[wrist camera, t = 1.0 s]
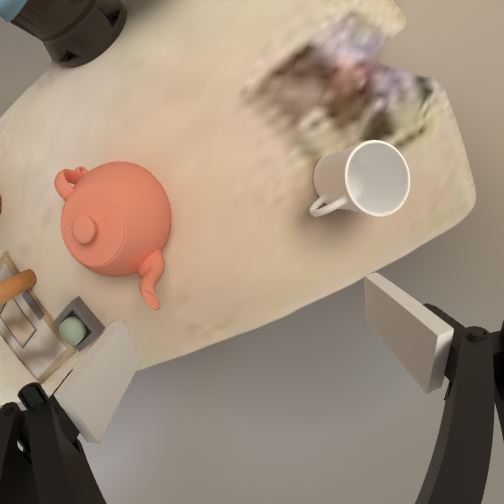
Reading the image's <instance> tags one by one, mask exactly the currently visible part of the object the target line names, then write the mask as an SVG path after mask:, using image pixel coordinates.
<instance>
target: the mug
mask: <svg viewBox="0 0 504 504" xmlns="http://www.w3.org/2000/svg"><path fill="white" fill-rule="evenodd" d="M313 181H314V187H315V190H316V192H317V194H318V196H319V197H320V198H318V199H317V200H316V201H315V202H314V203H313V204H312V205H311V207H310V209H309V211H310V214H311V215H312V216H315V217H317V216H322V215H325V214H327V213H329V212H332V211H334V210H336V209H347V210H352V211H356V212H360V213H364V214H368V215H372V216H378V217H381V216H387V215H390V214H392V213H394V212H396V211H397V210H398V209H399V208H400V207H401V206H402V205H403V203H404V202H405V200H406V198H407V196H408V193H409V189H410V173H409V169H408V166H407V163H406V161H405V159H404V158H403V156H402V155H401V153H400V152H399V151H398V150H397V149H396V148H395V147H393V146H392V145H390V144H388V143H386V142H383V141H379V140H371V141H366V142H363V143H360V144H357V145H354V146H351V147H348V148H345V149H342V150H335V151H331V152H329V153H327V154H325V155H324V156H323V157H322V158H321V159H320V160H319V161H318V163H317V165H316V167H315V170H314V175H313ZM323 202H324V203H326V204H327V206H325V207H323V208H320V209H317V208H318V207H319V206H320V205H321V204H322V203H323ZM316 209H317V210H316Z"/></svg>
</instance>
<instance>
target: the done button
mask: <svg viewBox="0 0 504 504" xmlns="http://www.w3.org/2000/svg"><path fill="white" fill-rule="evenodd" d="M59 332H60V335H61V337H62V338H63V340H64V341H65V342H66V343H68V344H70V345H77V344H78V343H79V342H80V341H81V340H82V339H83V338H84V337H85V336H86V335H87V332H88V329H87V326H86V325H85V324H84V323H83V322H82V320H81V319H80V318H79V317H78V316H77V315H75V314H73V315H70V316H69V317H68V318H67V319H65V320H64V321H63V322H62V323H61V324H60V325H59Z"/></svg>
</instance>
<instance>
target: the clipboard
mask: <svg viewBox="0 0 504 504" xmlns="http://www.w3.org/2000/svg"><path fill="white" fill-rule="evenodd" d="M18 273H20V272H19V271H18V269H17V268H16V266H15V264H14V263H13V261H12V259H11V258H10V256H9V254H8V252H7V251H6V252H4V254H3V255H2V257H1V259H0V282H2V281H4V280H6V279H8V278H10V277H12V276H14V275H16V274H18ZM0 335H1V336H2V338H3V339H4V340H5V342H6V343H7V344H8V346H9V347H10V349H11V350H12V351H13V352H14V354H15V355H16V356H17V358H18V359H19V360H20V361H21V362H22V364H23V365H24V366H25V367H26V369H27V370H28V371H29V372H30V373H31V374H32V375H33V377H34V378H35V379H36V380H37V381H38V382H39V383H40V384H42V383H43V382H44V381H45V380H46V379H47V378H48V377H49V376H50V375H51V374H52V373H53V372H54V371H55V370H56V369H57V368H58V367H59V366H60V365H61V364H62V363H63V362H64V361H66V360H67V359H68V358H69V357H70V356H71V355H72V354H73V353H74V352H75V351H76V350H77V349H76V347H75V346H74V345H70V344H68V343H66V342H65V341H64V340H63V338H62V337H61V335H60V332H59V328H58V326H57V325H56V324H55V323H54V320H53V319H52V318H51V316H50V315H49V314H48V313H47V311H46V310H45V309H44V307H43V306H42V305H41V303H40V302H39V300H38V299H37V298H36V296H35V295H34V293H33V292H32V291H31V289H28V290H26V291H24V292H23V293H21V294H19V295H18V296H16V297H14V298H13V299H11V300H9V301H8V302H6V303H4V304H3V305H1V306H0Z"/></svg>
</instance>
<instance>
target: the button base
mask: <svg viewBox="0 0 504 504" xmlns="http://www.w3.org/2000/svg"><path fill="white" fill-rule="evenodd" d="M72 311H74V312H75V313H76V314H77V316H78V317H79V318H80V319H81V320H82V322H83V323H84V324H85V325H86V326H87V327H88V329H89V330H90V331H91V333H90V334H89V335H88V336H87V337H86V338H85V339H84V338H83V339H82V340H81V341H80V342H79V343H78V344H77V345H74V346H75V347H76V349H77V350H78V351H79V352H80V351H81V350H82V349H83V348H84V347H85V346H87V345H88V344H89V343H90V342H91V341H92V340H93V339H94V338H95V337H97V336H98V335H99V334H100V333H101V331H102V330H103V329H104V328H105V327H104V326H103V325H102V323H101V322H100V321H99V320H98V319H97V318H96V317H95V315H94V314H93V313H92V312H91V311H90V309H89V308H88V307H87V306H86V305H85V303H84V302H83V301H82V300H81V298H80V297H79V296H78V297H77V298H76V299H74V300H73V301H72V302H71V303H70V304H69V305H68V306H67V307H66V308H65V310H64V311H63V312H62V313H61V314H60V315H59V317H58V318H57V319H56V320H55V321H54V323H55V324H56V325H57V326H58V328H59V325H60V324H61V323H62V322H63V321H64V320H65V319H67V317H68V316H69V315H70V314H71V312H72Z"/></svg>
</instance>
